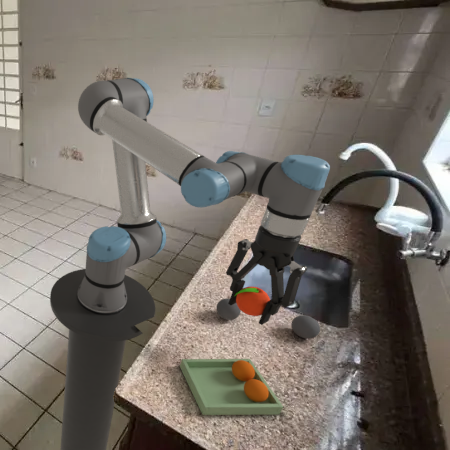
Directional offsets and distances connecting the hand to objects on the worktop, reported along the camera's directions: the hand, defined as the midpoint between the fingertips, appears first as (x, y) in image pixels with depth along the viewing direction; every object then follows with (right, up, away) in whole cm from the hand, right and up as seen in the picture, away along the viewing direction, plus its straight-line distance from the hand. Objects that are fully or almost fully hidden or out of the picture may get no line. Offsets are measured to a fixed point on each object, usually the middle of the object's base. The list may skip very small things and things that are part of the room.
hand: (247, 311), depth 85 cm
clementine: (0, 0, +1) cm, 1 cm away
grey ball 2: (+21, -6, +9) cm, 24 cm away
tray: (-8, -17, -4) cm, 19 cm away
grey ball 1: (+4, -3, +15) cm, 16 cm away
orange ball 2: (-3, -15, -8) cm, 18 cm away
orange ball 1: (-3, -13, -3) cm, 14 cm away
